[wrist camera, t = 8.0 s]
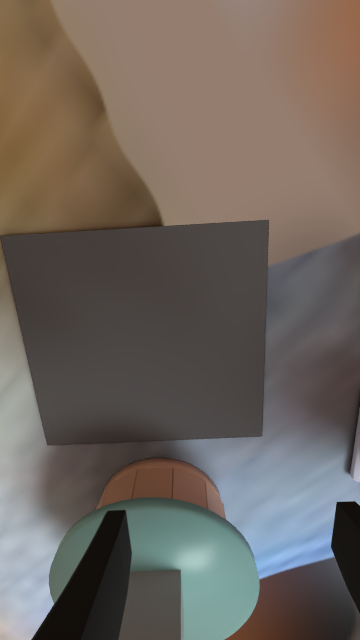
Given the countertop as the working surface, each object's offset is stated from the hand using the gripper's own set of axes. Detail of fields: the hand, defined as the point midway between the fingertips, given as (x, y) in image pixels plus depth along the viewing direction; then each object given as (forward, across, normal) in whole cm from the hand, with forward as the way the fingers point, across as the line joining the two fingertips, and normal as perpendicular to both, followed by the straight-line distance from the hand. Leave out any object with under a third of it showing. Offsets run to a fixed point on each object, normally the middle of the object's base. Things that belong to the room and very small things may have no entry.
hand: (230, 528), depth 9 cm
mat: (+10, +4, -3) cm, 12 cm away
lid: (+5, +4, +11) cm, 13 cm away
